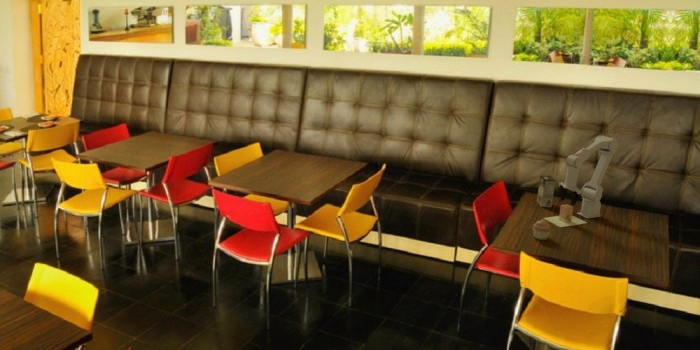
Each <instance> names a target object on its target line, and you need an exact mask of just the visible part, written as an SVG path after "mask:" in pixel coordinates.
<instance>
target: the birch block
mask: <svg viewBox="0 0 700 350" xmlns="http://www.w3.org/2000/svg"><path fill="white" fill-rule="evenodd" d="M558 216H559V220H561V221H563V222H571V221H572V216H573V213H572V214H571V215H564V214H562V213H560V212H559V215H558Z"/></svg>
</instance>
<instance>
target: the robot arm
mask: <svg viewBox="0 0 700 350" xmlns="http://www.w3.org/2000/svg"><path fill="white" fill-rule="evenodd" d="M618 146H619V144H618V139H616V138H612V137H609V136H605V135H602V134H599V135H598V136H596V138H595V139H594V141H593V142H592V143H591V144H589V145H588V147H581V149H580V150H578V151H577V152H576V153H574V154H570V155H568V156H567V157H566V159H565V165H566V166H565V168H566V174H565V180H564V181H559V182H558V187H557V190H558V192H559V198H560V201H561V202H562V201H565V200H566V198H567V192H568V190H569V191H571V192H570V198H571V201H570V206H575V205H576V204H577V202H578V200H579V198H580V197H581V199H582V203H581V209H580V211H579V212H577V213H576V214H577V215H579V216H581V217H583V218H586V219H591V218H592V219H593V218H600V217H601V215H600V212H601V209H602V208H601V206H602V204H601V203H602V202H601V201H600V200H601V199H602V196H603V192H604V189H603V187H602V186H601V183H602V181H603V179H604V176H605V174H606V172H607V169H608V167H609V166H610V165H609V164H610V162H611V160H612V157H613V156H614V155H615V153H616V151H617V148H618ZM596 151H599V152H600V154H601V155H600V157H599V160H598V162H597V165H596V167H595V169H594V171H593V173H592V176H591V178H590V180H589V181H587V182H586V183H584V185H583V187H582V188H581V189H580V188H579V187H578V186H577V183H578V177H579V171H580V170H579V169H580V168H581V167H582V166H583V163H584V162H585V161H586V160H588V159H589V158H591V156H592V154H593V153H594V152H596Z"/></svg>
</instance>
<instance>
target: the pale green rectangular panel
mask: <svg viewBox="0 0 700 350" xmlns="http://www.w3.org/2000/svg"><path fill="white" fill-rule="evenodd" d="M542 219H544V220H545V221H546V222H548V223H551V224H553V225H554V226H556V227H558V228H567V227H573V226H574V227H575V226H579V225H585V224H588V222H586V221H585V220H582V219H581V218H578V217H577V216H574V215H572V221H571V222H563V221H561V220H559V215H555V216H549V217H543V218H542Z"/></svg>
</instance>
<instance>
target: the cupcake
mask: <svg viewBox="0 0 700 350" xmlns="http://www.w3.org/2000/svg"><path fill="white" fill-rule="evenodd" d="M531 229H532V231H533V232H532V235H533V238H534V239H536V240H539V241H540V240H541V241H546V240H547V239H548V237H549V235H550V234H551V232H552V228H551V226H550V224H549V222H548V221H547V220H545V219H543V218H542V219H540V220H537V221H536V222H535V223H533V226H531Z"/></svg>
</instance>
